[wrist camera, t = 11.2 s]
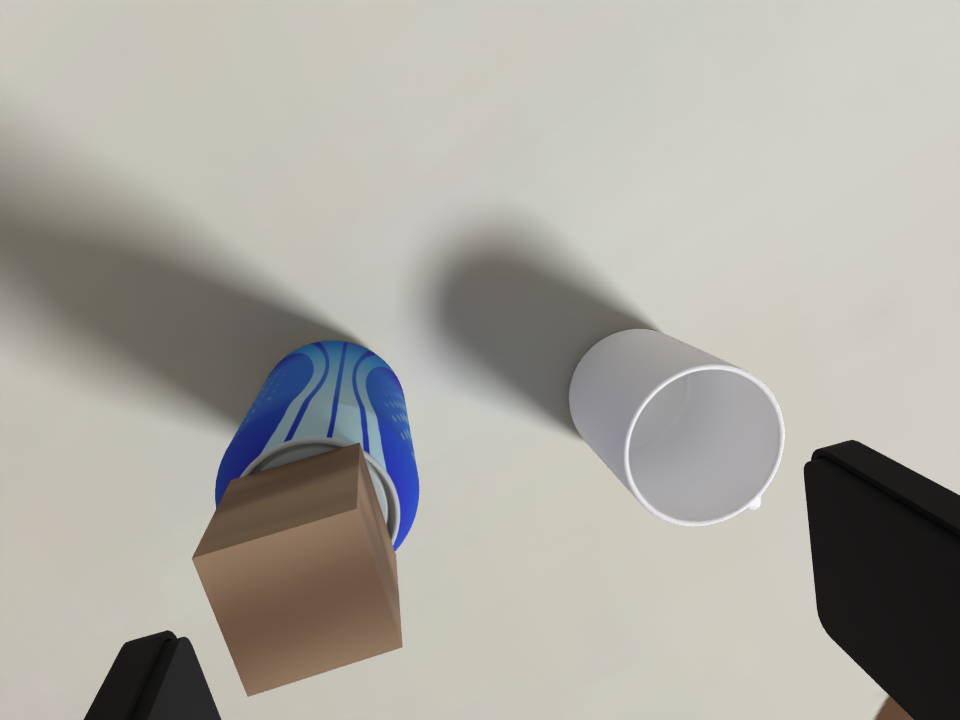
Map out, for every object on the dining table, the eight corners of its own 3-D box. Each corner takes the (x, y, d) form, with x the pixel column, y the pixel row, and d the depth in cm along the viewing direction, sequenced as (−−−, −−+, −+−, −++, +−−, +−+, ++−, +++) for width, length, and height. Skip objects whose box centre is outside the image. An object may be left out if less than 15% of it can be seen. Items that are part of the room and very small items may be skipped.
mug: (657, 510, 48) (736, 596, 37) (537, 395, 45) (588, 454, 34) (748, 421, 47) (854, 483, 37) (634, 297, 44) (714, 327, 34)
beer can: (275, 324, 41) (218, 398, 26) (416, 350, 43) (442, 434, 27) (253, 458, 43) (187, 604, 27) (390, 478, 44) (400, 627, 29)
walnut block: (230, 480, 27) (191, 558, 21) (359, 442, 27) (356, 508, 21) (273, 593, 28) (248, 696, 22) (396, 555, 28) (402, 647, 22)
